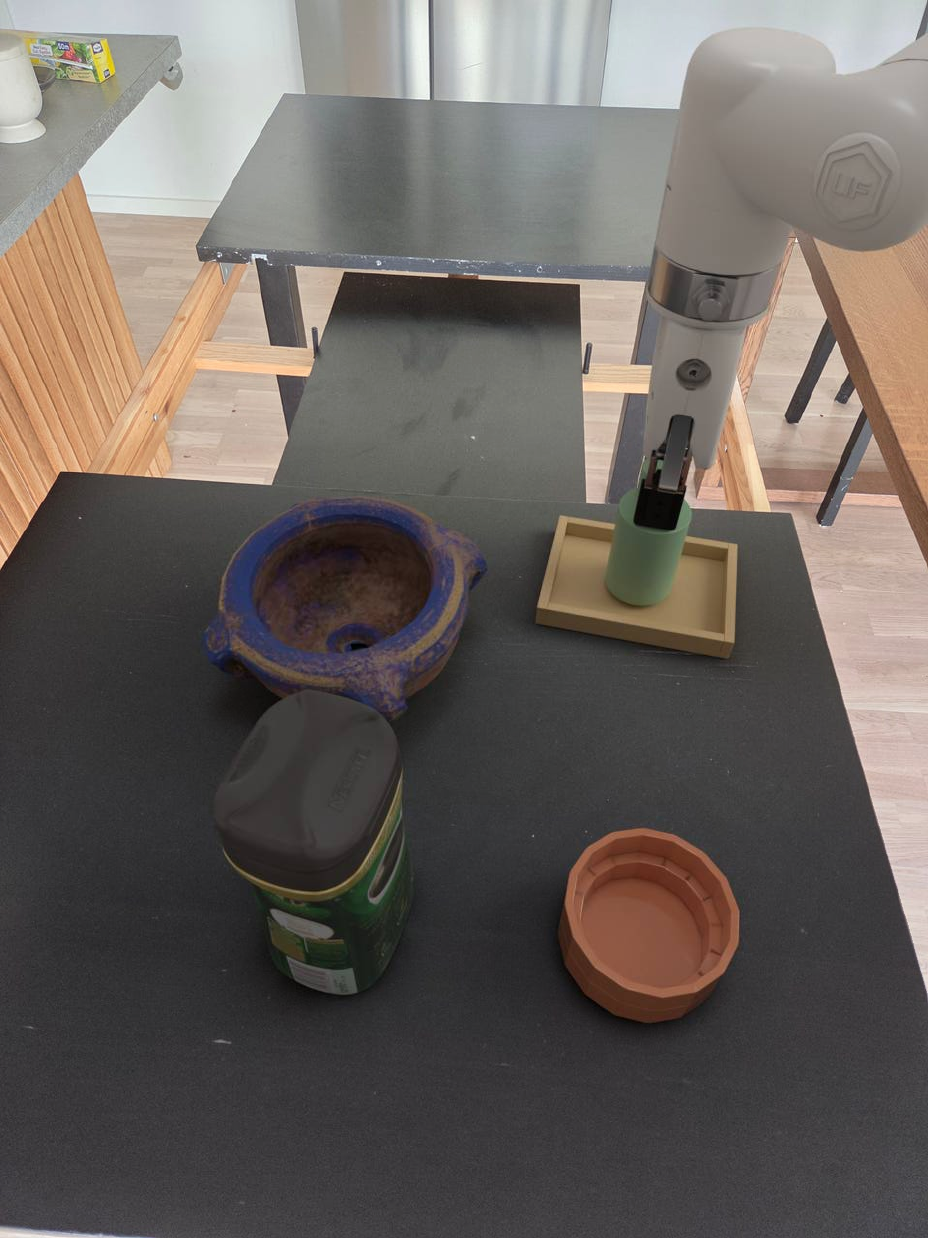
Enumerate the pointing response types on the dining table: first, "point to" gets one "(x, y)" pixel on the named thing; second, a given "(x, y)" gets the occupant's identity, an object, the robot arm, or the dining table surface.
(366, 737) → the coffee jar
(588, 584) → the tray
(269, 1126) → the dining table surface
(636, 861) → the clay bowl
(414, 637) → the bowl
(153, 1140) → the dining table surface
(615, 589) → the bottle
